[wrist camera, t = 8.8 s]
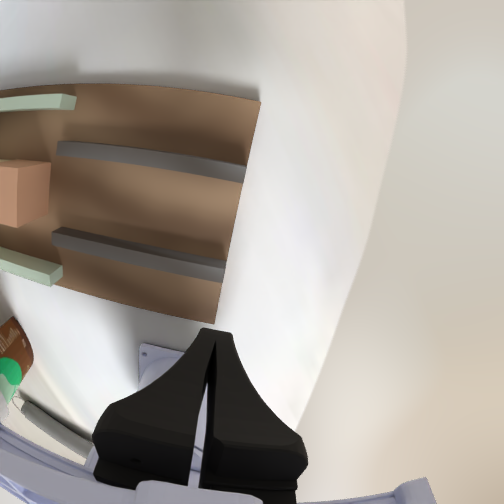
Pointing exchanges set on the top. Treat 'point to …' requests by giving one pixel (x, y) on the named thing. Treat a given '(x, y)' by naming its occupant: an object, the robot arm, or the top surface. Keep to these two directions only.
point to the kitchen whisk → (56, 429)
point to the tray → (11, 259)
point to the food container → (12, 361)
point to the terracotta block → (23, 191)
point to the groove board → (135, 190)
